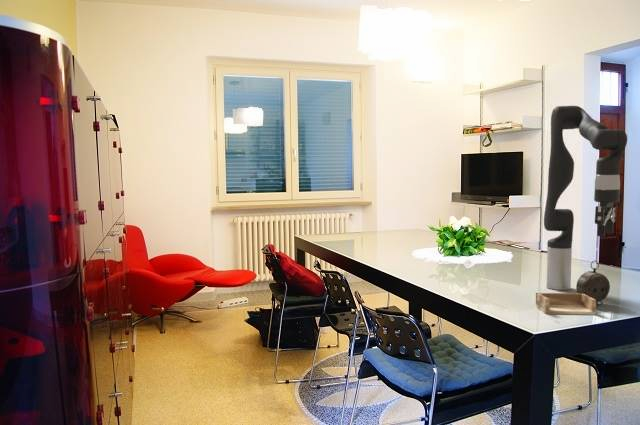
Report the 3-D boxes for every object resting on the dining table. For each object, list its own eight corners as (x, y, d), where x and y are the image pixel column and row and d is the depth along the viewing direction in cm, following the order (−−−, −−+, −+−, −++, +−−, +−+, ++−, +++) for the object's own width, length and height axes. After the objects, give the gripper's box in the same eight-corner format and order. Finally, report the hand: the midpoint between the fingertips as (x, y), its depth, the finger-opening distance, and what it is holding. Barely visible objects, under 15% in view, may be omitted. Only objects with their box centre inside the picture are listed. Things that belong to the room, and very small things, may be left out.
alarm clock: (601, 302, 188) (602, 258, 187) (612, 305, 183) (613, 261, 181) (575, 303, 186) (576, 259, 185) (584, 307, 181) (586, 262, 180)
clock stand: (535, 306, 182) (535, 292, 182) (583, 307, 181) (583, 293, 180) (545, 313, 172) (545, 299, 172) (595, 314, 171) (596, 300, 171)
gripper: (602, 186, 181) (600, 231, 182) (587, 188, 171) (586, 236, 172) (625, 187, 175) (623, 233, 177) (612, 189, 165) (610, 238, 167)
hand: (605, 234), depth 175 cm, fingers open, 8 cm apart
